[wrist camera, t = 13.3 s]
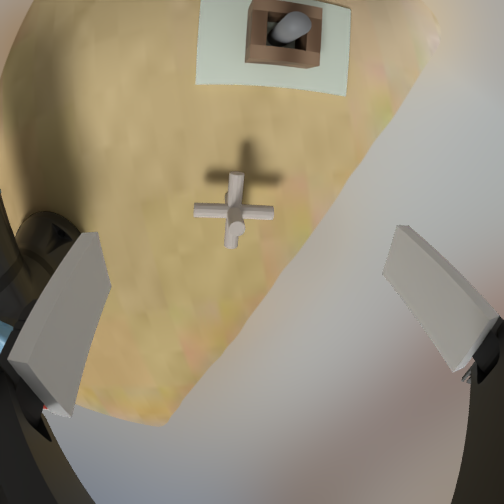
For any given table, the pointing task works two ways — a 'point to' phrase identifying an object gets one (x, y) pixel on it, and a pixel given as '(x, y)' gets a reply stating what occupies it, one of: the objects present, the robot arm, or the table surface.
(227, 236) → the pipe connector
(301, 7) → the collar
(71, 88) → the table surface
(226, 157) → the table surface
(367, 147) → the table surface
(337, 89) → the post stand
